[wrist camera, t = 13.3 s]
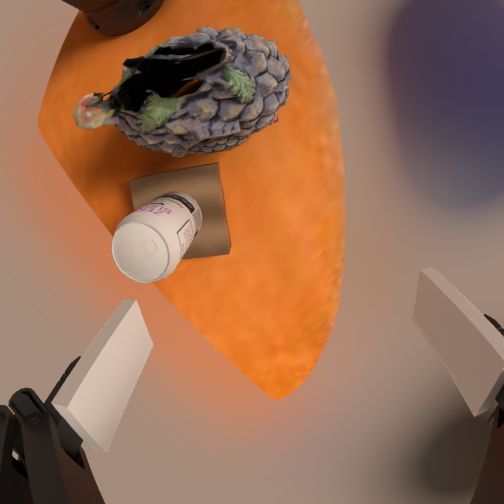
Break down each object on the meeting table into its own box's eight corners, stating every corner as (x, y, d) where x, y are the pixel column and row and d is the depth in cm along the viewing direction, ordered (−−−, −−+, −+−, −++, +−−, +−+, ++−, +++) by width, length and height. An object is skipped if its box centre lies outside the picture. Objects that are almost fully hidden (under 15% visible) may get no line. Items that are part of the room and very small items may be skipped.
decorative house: (174, 173, 44) (90, 209, 21) (144, 93, 39) (46, 65, 15) (297, 129, 41) (341, 113, 17) (264, 46, 36) (267, -42, 12)
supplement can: (170, 250, 44) (134, 298, 30) (143, 206, 42) (94, 238, 28) (213, 227, 43) (190, 269, 29) (185, 180, 40) (147, 201, 26)
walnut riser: (138, 177, 44) (128, 180, 40) (218, 162, 43) (214, 164, 39) (155, 253, 49) (147, 262, 45) (231, 245, 48) (228, 254, 44)
